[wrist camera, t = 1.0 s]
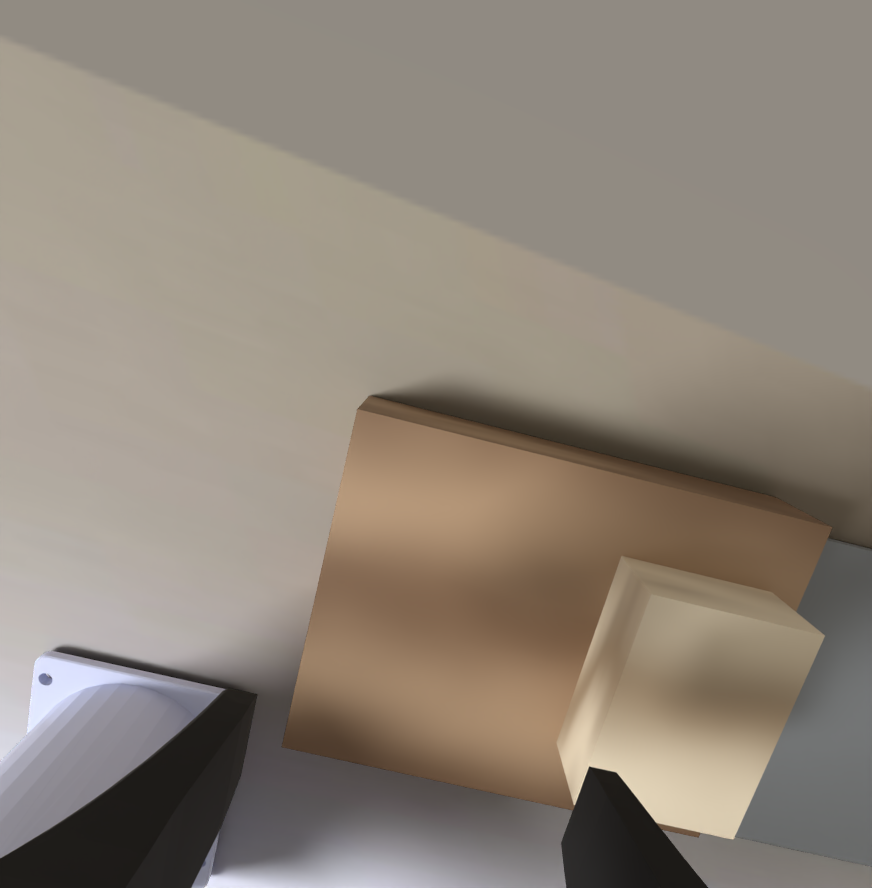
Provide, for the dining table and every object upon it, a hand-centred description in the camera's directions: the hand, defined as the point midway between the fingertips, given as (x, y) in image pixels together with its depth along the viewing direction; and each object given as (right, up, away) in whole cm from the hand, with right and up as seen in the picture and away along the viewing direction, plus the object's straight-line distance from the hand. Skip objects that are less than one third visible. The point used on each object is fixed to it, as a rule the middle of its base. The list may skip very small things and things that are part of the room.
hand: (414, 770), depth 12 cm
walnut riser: (+4, +1, +9) cm, 10 cm away
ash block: (+8, -1, +7) cm, 10 cm away
